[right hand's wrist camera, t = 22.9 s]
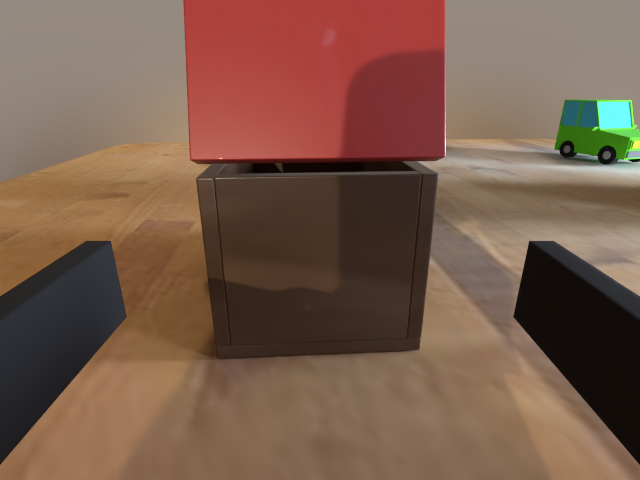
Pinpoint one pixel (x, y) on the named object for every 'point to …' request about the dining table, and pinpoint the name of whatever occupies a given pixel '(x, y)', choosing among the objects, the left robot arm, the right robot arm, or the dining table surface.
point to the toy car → (599, 130)
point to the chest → (317, 255)
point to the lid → (315, 80)
